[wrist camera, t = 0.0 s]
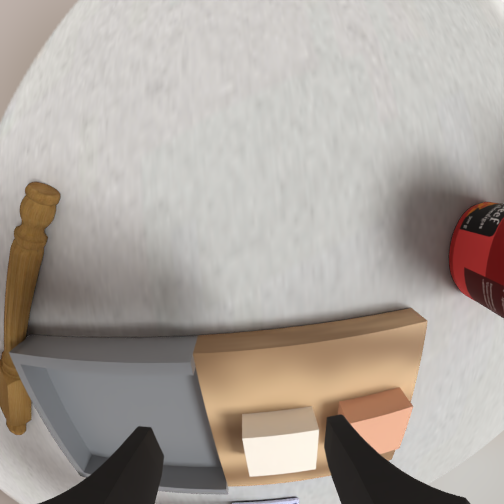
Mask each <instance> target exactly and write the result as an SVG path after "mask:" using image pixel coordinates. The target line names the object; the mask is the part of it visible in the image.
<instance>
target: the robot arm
mask: <svg viewBox="0 0 504 504" xmlns="http://www.w3.org/2000/svg"><path fill="white" fill-rule="evenodd" d="M324 449H325V454H326V459H327V463H328V467H329V470H330V473H331V476H332V479H333V481H334V484H335V487H336V490H337V493H338V495H339V498H340V501H341V504H470V503H469V502H468V500H467V499H466V498H464V497H460V496H456V495H453V494H449V493H446V492H443V491H441V490H438V489H436V488H433V487H431V486H429V485H427V484H425V483H423V482H420V481H418V480H416V479H414V478H413V477H411V476H409V475H408V474H406V473H404V472H403V471H401V470H400V469H398V468H397V467H395V466H394V465H393V464H391V463H390V462H389V461H388V460H386V459H385V458H384V457H383V456H381V455H380V454H379V453H378V452H377V451H376V450H375V449H374V448H373V447H371V446H370V445H369V444H368V443H367V442H366V441H365V440H364V439H363V438H362V437H361V436H360V434H359V433H358V432H357V431H356V430H355V429H354V428H353V427H352V425H351V424H350V423H349V422H348V421H347V419H346V418H345V417H344V416H343V415H342V414H340V415H335V416H330V417H327V421H326V432H325V442H324ZM163 463H164V454H163V452H162V450H161V448H160V446H159V443H158V441H157V439H156V437H155V435H154V432H153V430H152V428H151V427H143V426H138V427H137V428H136V429H135V430H134V431H133V432H132V433H131V435H130V436H129V437H128V438H127V439H126V440H125V441H124V442H123V444H122V445H121V446H120V447H119V448H118V449H117V450H116V451H115V452H114V453H113V454H112V455H111V456H110V457H109V458H108V459H107V460H106V461H105V462H104V463H103V464H102V465H101V466H100V467H99V468H98V469H97V470H96V471H95V472H93V473H92V474H91V475H90V476H88V477H87V478H86V479H84V480H83V481H82V482H80V483H79V484H77V485H76V486H74V487H72V488H71V489H69V490H67V491H66V492H64V493H62V494H60V495H58V496H56V497H54V498H52V499H49V500H47V501H44V502H42V503H39V504H154V503H155V499H156V496H157V492H158V488H159V485H160V481H161V477H162V471H163ZM231 504H299V499H298V498H290V499H282V500H272V501H259V502H238V503H231Z"/></svg>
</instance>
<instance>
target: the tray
mask: <svg viewBox="0 0 504 504" xmlns="http://www.w3.org/2000/svg"><path fill="white" fill-rule="evenodd" d="M197 337H198V335H194V336H172V337H134V338H101V337H64V336H44V335H29V336H28V337H27V338H26V339H25V340H24V341H23V342H21V343H19V344H18V345H17V346H16V347H15V348H13V349H12V350H11V351H10V352H9V354H10V356H11V359H12V361H13V364H14V366H15V368H16V370H17V372H18V375H19V377H20V379H21V381H22V383H23V385H24V387H25V389H26V391H27V393H28V395H29V397H30V399H31V401H32V403H33V404H34V406H35V408H36V410H37V412H38V413H39V415H40V417H41V419H42V420H43V422H44V424H45V425H46V427H47V429H48V430H49V432H50V433H51V435H52V437H53V438H54V440H55V441H56V443H57V444H58V446H59V447H60V449H61V450H62V452H63V453H64V454H65V456H66V457H67V459H68V460H69V461H70V463H71V464H72V466H73V467H74V468H75V470H76V471H77V472H78V473H79V475H80V476H83V477H86V478H87V477H88V476H90V475H91V474H92V473H93V472H95V471H96V470H97V469H98V468H99V467H100V466H101V465H102V464H103V463H104V462H105V461H106V460H107V459H108V458H109V457H110V456H111V455H112V454H113V453H114V452H115V451H116V450H117V449H118V448H119V447H120V446H121V445H122V444H123V442H124V441H125V440H126V439H127V438H128V437H129V436H130V435H131V433H132V432H133V431H134V430H135V429H136V428H137V427H138V426H143V427H151V428H152V430H153V432H154V435H155V437H156V439H157V441H158V443H159V446H160V448H161V450H162V452H163V454H164V463H163V471H162V477H161V481H160V485H159V488H158V491H165V492H176V493H191V494H228V484H227V481H226V478H225V475H224V471H223V468H222V465H221V462H220V458H219V455H218V452H217V448H216V445H215V441H214V438H213V434H212V430H211V427H210V423H209V419H208V416H207V412H206V408H205V404H204V400H203V396H202V392H201V388H200V384H199V379H198V375H197V371H196V366H195V362H194V357H193V351H194V348H195V344H196V341H197Z"/></svg>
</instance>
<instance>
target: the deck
mask: <svg viewBox="0 0 504 504" xmlns="http://www.w3.org/2000/svg"><path fill="white" fill-rule="evenodd" d="M426 328H427V320H426V319H424V318H423V317H422V316H421V315H419V314H418V313H417V312H416V311H415V310H413V309H412V308H408V309H403V310H398V311H393V312H388V313H382V314H377V315H371V316H365V317H359V318H353V319H347V320H340V321H334V322H327V323H320V324H312V325H304V326H296V327H288V328H279V329H270V330H260V331H249V332H238V333H225V334H211V335H198V337H197V341H196V344H195V348H194V351H193V357H194V362H195V366H196V371H197V375H198V379H199V384H200V388H201V392H202V396H203V400H204V404H205V408H206V412H207V416H208V419H209V423H210V427H211V430H212V434H213V438H214V441H215V445H216V448H217V452H218V455H219V458H220V462H221V465H222V468H223V471H224V475H225V478H226V481H227V484H228V486H252V485H266V484H277V483H286V482H293V481H301V480H307V479H313V478H319V477H325V476H330V475H331V473H330V470H329V467H328V463H327V459H326V454H325V449H324V442H325V432H326V421H327V417H330V416H335V415H338V406H339V401H344V400H349V399H354V398H358V397H363V396H367V395H371V394H375V393H379V392H383V391H387V390H391V389H395V388H398V387H400V388H401V390H402V391H403V393H404V394H405V395H406V397H407V398H408V400H409V401H410V402H411V399H412V395H413V391H414V387H415V383H416V379H417V374H418V370H419V366H420V361H421V356H422V351H423V345H424V340H425V334H426ZM310 406H312V407H313V411H314V414H315V417H316V421H317V424H318V428H319V437H318V450H317V461H316V469H314V470H307V471H301V472H294V473H286V474H277V475H267V476H253V477H250V476H249V471H248V466H247V461H246V456H245V451H244V445H243V440H242V414H249V413H261V412H271V411H280V410H289V409H296V408H303V407H310ZM394 452H395V450H392V451H389V452H386V453H383V454H380V455H381V456H383V457H384V458H385V459H386V460H391V459H392V457H393V455H394Z"/></svg>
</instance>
